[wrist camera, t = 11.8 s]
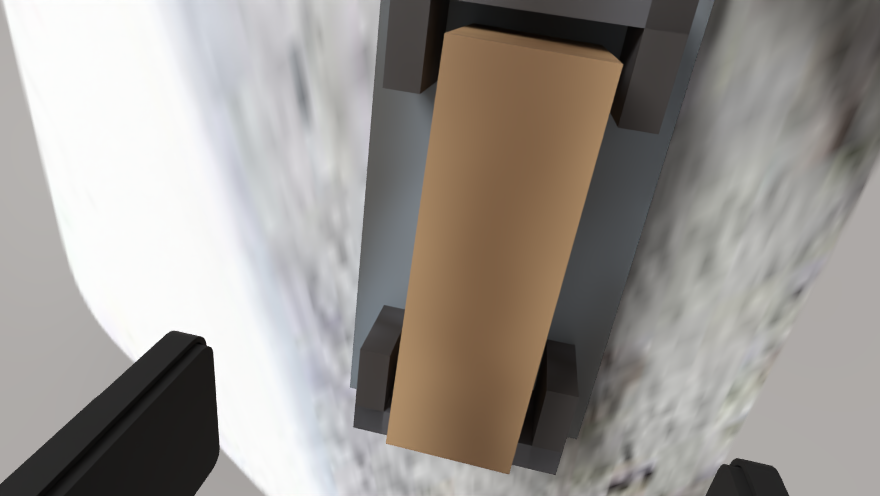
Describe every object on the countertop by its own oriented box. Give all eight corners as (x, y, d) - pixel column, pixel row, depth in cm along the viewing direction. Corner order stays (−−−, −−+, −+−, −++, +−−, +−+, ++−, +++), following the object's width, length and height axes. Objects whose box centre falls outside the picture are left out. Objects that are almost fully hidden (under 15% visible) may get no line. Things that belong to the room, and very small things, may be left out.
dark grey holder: (357, 372, 28) (324, 438, 24) (396, -82, 20) (354, -103, 16) (575, 421, 27) (580, 499, 23) (716, -39, 19) (765, -49, 14)
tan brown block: (420, 349, 26) (385, 443, 20) (473, 23, 20) (444, 33, 14) (517, 371, 25) (508, 474, 20) (602, 45, 19) (623, 64, 14)
